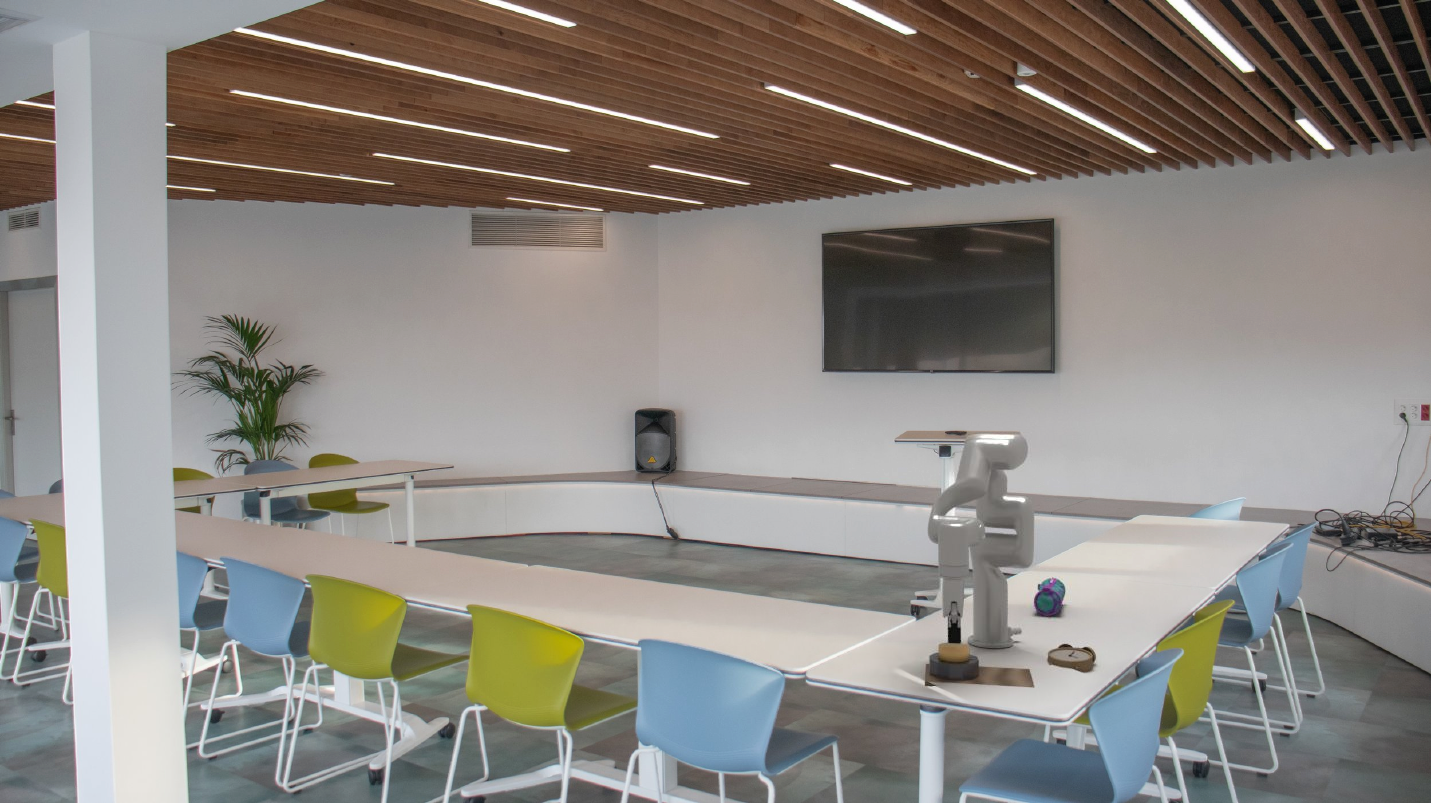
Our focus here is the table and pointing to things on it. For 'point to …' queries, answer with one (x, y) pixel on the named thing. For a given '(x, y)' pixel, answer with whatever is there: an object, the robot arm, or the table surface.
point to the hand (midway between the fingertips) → (954, 637)
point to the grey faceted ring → (954, 668)
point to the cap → (953, 652)
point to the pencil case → (1049, 596)
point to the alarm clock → (1072, 657)
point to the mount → (991, 677)
